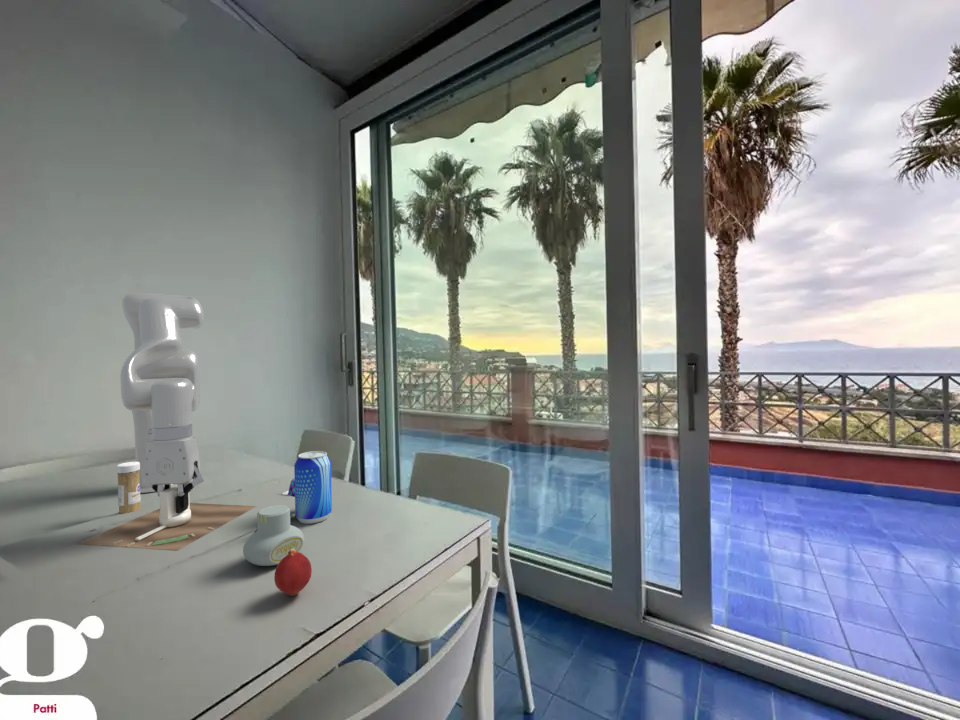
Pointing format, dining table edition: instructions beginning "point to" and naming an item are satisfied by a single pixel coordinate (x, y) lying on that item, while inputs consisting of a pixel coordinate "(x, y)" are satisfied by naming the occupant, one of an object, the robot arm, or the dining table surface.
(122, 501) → the sprinkles bottle
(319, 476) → the beer can
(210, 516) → the dial board
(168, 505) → the tuning knob
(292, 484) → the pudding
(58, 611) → the dining table surface
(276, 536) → the air freshener
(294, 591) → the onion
